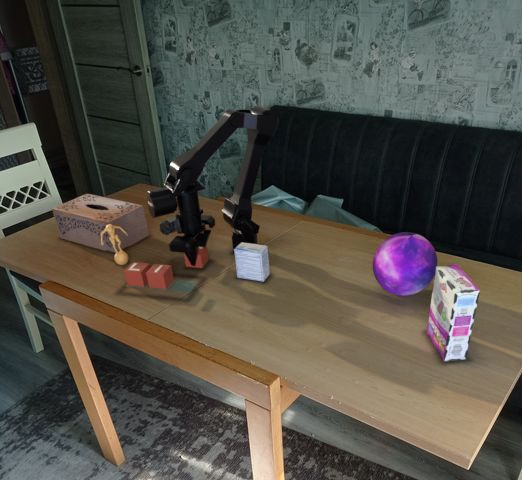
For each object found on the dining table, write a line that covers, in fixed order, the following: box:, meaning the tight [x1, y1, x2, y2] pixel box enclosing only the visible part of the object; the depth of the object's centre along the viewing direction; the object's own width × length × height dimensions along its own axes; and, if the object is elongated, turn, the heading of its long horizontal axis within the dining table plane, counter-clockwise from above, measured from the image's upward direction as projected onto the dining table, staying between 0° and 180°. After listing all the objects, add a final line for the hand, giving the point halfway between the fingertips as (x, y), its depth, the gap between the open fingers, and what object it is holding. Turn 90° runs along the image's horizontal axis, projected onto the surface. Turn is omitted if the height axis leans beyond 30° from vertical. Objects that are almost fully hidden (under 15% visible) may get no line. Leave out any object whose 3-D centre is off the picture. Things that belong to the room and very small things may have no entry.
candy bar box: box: [426, 264, 481, 362], centre depth 108 cm, size 11×5×16 cm, turn 5°
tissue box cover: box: [51, 193, 150, 254], centre depth 169 cm, size 26×14×10 cm, turn 56°
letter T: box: [183, 246, 210, 269], centre depth 150 cm, size 5×5×5 cm
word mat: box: [125, 278, 199, 294], centre depth 143 cm, size 20×12×1 cm, turn 73°
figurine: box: [101, 224, 130, 266], centre depth 152 cm, size 8×6×12 cm
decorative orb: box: [372, 231, 439, 297], centre depth 128 cm, size 15×15×15 cm
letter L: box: [123, 261, 151, 287], centre depth 143 cm, size 5×5×5 cm
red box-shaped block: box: [146, 263, 175, 289], centre depth 141 cm, size 5×5×5 cm
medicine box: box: [233, 242, 271, 283], centre depth 141 cm, size 8×4×9 cm, turn 65°
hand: (197, 261), depth 151 cm, fingers closed on letter T, 5 cm apart
